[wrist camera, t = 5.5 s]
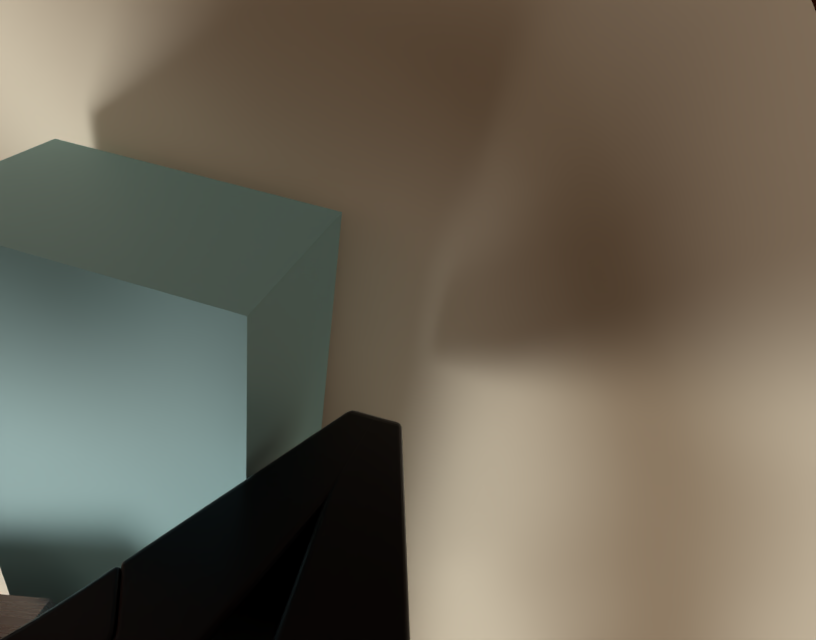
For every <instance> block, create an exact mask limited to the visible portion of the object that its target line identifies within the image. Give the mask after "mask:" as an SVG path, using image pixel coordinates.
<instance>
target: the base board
mask: <svg viewBox="0 0 816 640" xmlns="http://www.w3.org/2000/svg"><path fill="white" fill-rule="evenodd" d="M53 139H59V140H62V141H66V142H70V143H74V144H78V145H82V146H86V147H90V148H94V149H98V150H102V151H105V152H109V153H113V154H117V155H121V156H125V157H129V158H133V159H137V160H141V161H144V162H148V163H152V164H156V165H160V166H164V167H168V168H172V169H176V170H180V171H184V172H187V173H191V174H195V175H199V176H203V177H207V178H211V179H215V180H219V181H223V182H227V183H230V184H234V185H238V186H242V187H246V188H250V189H254V190H258V191H262V192H266V193H270V194H273V195H277V196H281V197H285V198H289V199H293V200H297V201H301V202H305V203H309V204H312V205H316V206H320V207H324V208H328V209H332V210H336V211H340V212H342V217H341V228H340V238H339V249H338V259H337V270H336V280H335V291H334V302H333V312H332V323H331V333H330V344H329V354H328V365H327V375H326V386H325V396H324V407H323V417H322V428H324V427H325V426H327V425H328V424H330V423H331V422H333V421H334V420H336V419H337V418H339V417H340V416H342V415H343V414H345V413H346V412H348V411H352V410H354V411H358V412H362V413H366V414H369V415H373V416H377V417H380V418H384V419H388V420H391V421H395V422H398V423H400V424H401V426H402V439H403V465H404V491H405V517H406V543H407V569H408V595H409V621H410V640H816V11H815V8H814V6H813V3H812V1H811V0H0V161H1V160H4V159H6V158H8V157H11V156H13V155H16V154H18V153H21V152H23V151H26V150H28V149H30V148H33V147H35V146H38V145H40V144H43V143H45V142H48V141H50V140H53ZM322 428H321V429H322ZM0 594H4V595H9V592H8V589H7V586H6V583H5V580H4V577H3V574H2V571H1V568H0Z"/></svg>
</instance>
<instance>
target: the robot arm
mask: <svg viewBox="0 0 816 640" xmlns="http://www.w3.org/2000/svg"><path fill="white" fill-rule="evenodd" d="M0 640H410V621H409V595H408V569H407V543H406V517H405V491H404V465H403V439H402V426H401V424H400V423H398V422H395V421H391V420H388V419H384V418H380V417H377V416H373V415H369V414H366V413H362V412H358V411H354V410H352V411H348V412H346V413H345V414H343V415H342V416H340V417H339V418H337V419H336V420H334V421H333V422H331V423H330V424H328V425H327V426H325V427H324V428H322V429H321V430H319V431H318V432H316V433H315V434H313V435H312V436H310V437H309V438H307V439H306V440H304V441H303V442H301V443H300V444H298V445H297V446H295V447H294V448H292V449H291V450H289V451H288V452H286V453H285V454H283V455H282V456H280V457H279V458H277V459H276V460H274V461H273V462H271V463H270V464H268V465H267V466H265V467H264V468H262V469H261V470H259V471H258V472H256V473H255V474H253V475H252V476H250V477H249V478H247V479H246V480H244V481H243V482H241V483H240V484H238V485H237V486H235V487H234V488H232V489H231V490H229V491H228V492H226V493H225V494H223V495H222V496H220V497H219V498H217V499H216V500H214V501H213V502H211V503H210V504H208V505H207V506H205V507H204V508H202V509H201V510H199V511H198V512H196V513H195V514H193V515H192V516H190V517H189V518H187V519H186V520H184V521H183V522H181V523H180V524H178V525H177V526H175V527H174V528H172V529H171V530H169V531H168V532H166V533H165V534H163V535H162V536H160V537H159V538H158V539H156V540H155V541H153V542H152V543H150V544H149V545H147V546H146V547H144V548H143V549H141V550H140V551H138V552H137V553H135V554H134V555H132V556H131V557H129V558H128V559H126V560H125V561H123V562H122V565H121V568H120V567H118V566H116V567H114V568H112V569H111V570H109V571H108V572H106V573H105V574H103V575H102V576H100V577H99V578H97V579H96V580H94V581H93V582H91V583H90V584H88V585H87V586H85V587H84V588H82V589H80V590H79V591H77V592H76V593H74V594H73V595H71V596H69V597H68V598H66V599H65V600H63V601H62V602H60V603H58V604H57V605H55V606H54V607H52V608H51V609H49V610H47V611H46V612H44V613H43V614H41V615H40V616H38V617H36V618H35V619H33V620H31V621H30V622H28V623H26V624H25V625H23V626H21V627H19V628H18V629H16V630H14V631H12V632H11V633H9V634H7V635H6V636H4V637H2V638H0Z"/></svg>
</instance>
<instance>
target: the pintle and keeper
mask: <svg viewBox="0 0 816 640" xmlns="http://www.w3.org/2000/svg"><path fill="white" fill-rule="evenodd" d="M54 606H55V603H54V602H53V601H52V599H49V598H38V597H27V596H16V595H4V594H0V638H2V637H4V636H6V635H7V634H9V633H11V632H12V631H14V630H16V629H18V628H19V627H21V626H23V625H25V624H26V623H28V622H30V621H31V620H33V619H35V618H36V617H38V616H40V615H41V614H43V613H44V612H46V611H47V610H49V609H51V608H52V607H54Z"/></svg>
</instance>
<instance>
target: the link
mask: <svg viewBox="0 0 816 640" xmlns="http://www.w3.org/2000/svg"><path fill="white" fill-rule="evenodd" d="M341 217H342V212H340V211H336V210H332V209H328V208H324V207H320V206H316V205H312V204H309V203H305V202H301V201H297V200H293V199H289V198H285V197H281V196H277V195H273V194H270V193H266V192H262V191H258V190H254V189H250V188H246V187H242V186H238V185H234V184H230V183H227V182H223V181H219V180H215V179H211V178H207V177H203V176H199V175H195V174H191V173H187V172H184V171H180V170H176V169H172V168H168V167H164V166H160V165H156V164H152V163H148V162H144V161H141V160H137V159H133V158H129V157H125V156H121V155H117V154H113V153H109V152H105V151H102V150H98V149H94V148H90V147H86V146H82V145H78V144H74V143H70V142H66V141H62V140H59V139H53V140H50V141H48V142H45V143H43V144H40V145H38V146H35V147H33V148H30V149H28V150H26V151H23V152H21V153H18V154H16V155H13V156H11V157H8V158H6V159H4V160H1V161H0V568H1V571H2V574H3V577H4V580H5V583H6V586H7V589H8V592H9V595H16V596H27V597H38V598H49V599H52V601H53V602H54V603H55V605H57V604H58V603H60V602H62V601H63V600H65V599H66V598H68V597H69V596H71V595H73V594H74V593H76V592H77V591H79V590H80V589H82V588H84V587H85V586H87V585H88V584H90V583H91V582H93V581H94V580H96V579H97V578H99V577H100V576H102V575H103V574H105V573H106V572H108V571H109V570H111V569H112V568H114V567H116V566H118V567H120V568H121V565H122V562H123V561H125V560H126V559H128V558H129V557H131V556H132V555H134V554H135V553H137V552H138V551H140V550H141V549H143V548H144V547H146V546H147V545H149V544H150V543H152V542H153V541H155V540H156V539H158V538H159V537H160V536H162V535H163V534H165V533H166V532H168V531H169V530H171V529H172V528H174V527H175V526H177V525H178V524H180V523H181V522H183V521H184V520H186V519H187V518H189V517H190V516H192V515H193V514H195V513H196V512H198V511H199V510H201V509H202V508H204V507H205V506H207V505H208V504H210V503H211V502H213V501H214V500H216V499H217V498H219V497H220V496H222V495H223V494H225V493H226V492H228V491H229V490H231V489H232V488H234V487H235V486H237V485H238V484H240V483H241V482H243V481H244V480H246V479H247V478H249V477H250V476H252V475H253V474H255V473H256V472H258V471H259V470H261V469H262V468H264V467H265V466H267V465H268V464H270V463H271V462H273V461H274V460H276V459H277V458H279V457H280V456H282V455H283V454H285V453H286V452H288V451H289V450H291V449H292V448H294V447H295V446H297V445H298V444H300V443H301V442H303V441H304V440H306V439H307V438H309V437H310V436H312V435H313V434H315V433H316V432H318V431H319V430H321V428H322V417H323V407H324V396H325V386H326V375H327V365H328V354H329V344H330V333H331V323H332V312H333V302H334V291H335V280H336V270H337V259H338V249H339V238H340V228H341Z"/></svg>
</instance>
